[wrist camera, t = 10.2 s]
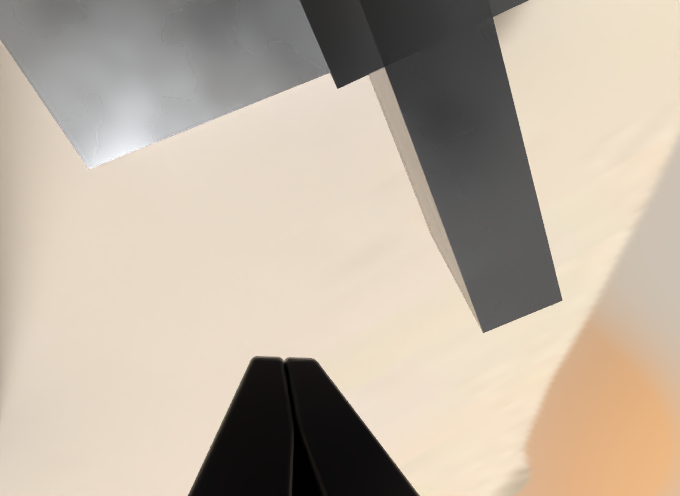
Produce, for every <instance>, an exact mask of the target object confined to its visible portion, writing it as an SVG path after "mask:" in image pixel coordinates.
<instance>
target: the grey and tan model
mask: <svg viewBox="0 0 680 496" xmlns="http://www.w3.org/2000/svg"><path fill="white" fill-rule="evenodd" d="M526 1H528V0H298V3H299V5H300V7H301V10H302V12H303V14H304V17H305V19H306V21H307V24H308V26H309V28H310V30H311V32H312V34H313V37H314V39H315V41H316V43H317V45H318V47H319V50H320V52H321V54H322V56H323V58H324V60H325V63H326V65H327V67H328V69H329V71H330V73H331V76H332V78H333V80H334V82H335V84H336V86H337V89H338V88H341V87H343V86H345V85H347V84H349V83H351V82H353V81H356V80H358V79H360V78H362V77H364V76H366V75H369V77H370V80H371V82H372V85H373V88H374V90H375V93H376V95H377V98H378V100H379V103H380V105H381V108H382V111H383V113H384V116H385V118H386V121H387V123H388V126H389V128H390V131H391V134H392V136H393V139H394V141H395V144H396V146H397V149H398V151H399V154H400V157H401V159H402V162H403V164H404V167H405V169H406V172H407V175H408V177H409V180H410V182H411V185H412V187H413V190H414V192H415V195H416V198H417V200H418V203H419V205H420V208H421V210H422V213H423V215H424V218H425V221H426V223H427V226H428V228H429V231H430V233H431V236H432V238H433V240H434V241H435V243H436V245H437V247H438V249H439V251H440V253H441V255H442V256H443V258H444V260H445V262H446V264H447V266H448V268H449V270H450V272H451V273H452V275H453V277H454V279H455V281H456V283H457V285H458V287H459V288H460V290H461V292H462V294H463V296H464V298H465V300H466V302H467V304H468V305H469V307H470V309H471V311H472V313H473V315H474V317H475V319H476V321H477V322H478V324H479V326H480V328H481V330H482V332H483V333H484V332H487V331H489V330H492V329H494V328H497V327H499V326H502V325H504V324H506V323H509V322H511V321H514V320H516V319H519V318H521V317H523V316H526V315H528V314H531V313H533V312H536V311H538V310H541V309H543V308H545V307H548V306H550V305H553V304H555V303H558V302H560V301H562V297H561V293H560V289H559V285H558V281H557V277H556V273H555V268H554V264H553V260H552V256H551V252H550V248H549V244H548V240H547V236H546V232H545V228H544V224H543V220H542V216H541V212H540V208H539V203H538V199H537V195H536V191H535V187H534V183H533V179H532V175H531V171H530V167H529V163H528V159H527V155H526V151H525V147H524V142H523V138H522V134H521V130H520V126H519V122H518V118H517V114H516V110H515V106H514V102H513V98H512V94H511V90H510V86H509V81H508V77H507V73H506V69H505V65H504V61H503V57H502V53H501V49H500V45H499V41H498V37H497V33H496V29H495V25H494V20H493V17H494V16H496V15H498V14H500V13H502V12H504V11H506V10H509V9H511V8H513V7H515V6H517V5H519V4H522V3H524V2H526Z"/></svg>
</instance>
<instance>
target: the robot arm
mask: <svg viewBox="0 0 680 496" xmlns="http://www.w3.org/2000/svg"><path fill="white" fill-rule="evenodd" d="M188 496H419V494H418V493H417V492H416V490H415V489H414V488H413V486H412V485H411V484H410V482H409V481H408V480H407V479H406V477H405V476H404V475H403V473H402V472H401V471H400V469H399V468H398V467H397V465H396V464H395V463H394V461H393V460H392V459H391V458H390V456H389V455H388V454H387V452H386V451H385V450H384V448H383V447H382V446H381V444H380V443H379V442H378V440H377V439H376V438H375V437H374V435H373V434H372V433H371V431H370V430H369V429H368V427H367V426H366V425H365V423H364V422H363V421H362V419H361V418H360V417H359V416H358V414H357V413H356V412H355V410H354V409H353V408H352V406H351V405H350V404H349V402H348V401H347V400H346V398H345V397H344V396H343V395H342V393H341V392H340V391H339V389H338V388H337V387H336V385H335V384H334V383H333V381H332V380H331V379H330V377H329V376H328V375H327V374H326V372H325V371H324V370H323V368H322V367H321V366H320V364H319V363H318V362H317V361H316V360H315V359H312V358H295V357H289V358H287V359H285V360H284V361H283V359H282V358H280V357H266V356H255V357H253V358H252V359H251V361H250V363H249V365H248V367H247V370H246V372H245V374H244V376H243V378H242V380H241V382H240V385H239V387H238V389H237V391H236V393H235V395H234V398H233V400H232V402H231V404H230V406H229V408H228V411H227V413H226V415H225V417H224V419H223V421H222V423H221V426H220V428H219V430H218V432H217V434H216V436H215V439H214V441H213V443H212V445H211V447H210V449H209V452H208V454H207V456H206V458H205V460H204V462H203V464H202V467H201V469H200V471H199V473H198V475H197V477H196V480H195V482H194V484H193V486H192V488H191V490H190V493H189V495H188Z"/></svg>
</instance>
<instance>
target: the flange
mask: <svg viewBox="0 0 680 496" xmlns="http://www.w3.org/2000/svg"><path fill="white" fill-rule="evenodd" d="M0 39H1V41H2V42H3V44H4V45H5V47H6V48H7V50H8V51H9V53H10V54H11V56H12V57H13V58H14V60H15V61H16V63H17V64H18V66H19V67H20V69H21V70H22V72H23V73H24V75H25V76H26V78H27V79H28V81H29V82H30V84H31V85H32V86H33V88H34V89H35V91H36V92H37V94H38V95H39V97H40V98H41V100H42V101H43V103H44V104H45V106H46V107H47V109H48V110H49V112H50V113H51V114H52V116H53V117H54V119H55V120H56V122H57V123H58V125H59V126H60V128H61V129H62V131H63V132H64V134H65V135H66V137H67V138H68V140H69V141H70V142H71V144H72V145H73V147H74V148H75V150H76V151H77V153H78V154H79V156H80V157H81V159H82V160H83V162H84V163H85V165H86V166H87V168H88V169H91V168H93V167H96V166H98V165H101V164H103V163H106V162H108V161H111V160H113V159H116V158H118V157H121V156H123V155H126V154H128V153H131V152H133V151H136V150H138V149H141V148H143V147H146V146H148V145H151V144H153V143H156V142H158V141H161V140H163V139H166V138H168V137H171V136H173V135H176V134H178V133H180V132H183V131H185V130H188V129H190V128H193V127H195V126H198V125H200V124H203V123H205V122H208V121H210V120H213V119H215V118H218V117H220V116H223V115H225V114H228V113H230V112H233V111H235V110H238V109H240V108H243V107H245V106H248V105H250V104H253V103H255V102H258V101H260V100H263V99H265V98H268V97H270V96H273V95H275V94H278V93H280V92H283V91H285V90H288V89H290V88H293V87H295V86H298V85H300V84H303V83H305V82H308V81H310V80H313V79H315V78H318V77H320V76H323V75H325V74H328V73H330V71H329V69H328V67H327V65H326V63H325V60H324V58H323V56H322V54H321V52H320V50H319V47H318V45H317V43H316V41H315V39H314V37H313V34H312V32H311V30H310V28H309V26H308V24H307V21H306V19H305V17H304V14H303V12H302V10H301V7H300V5H299V3H298V0H0Z"/></svg>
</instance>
